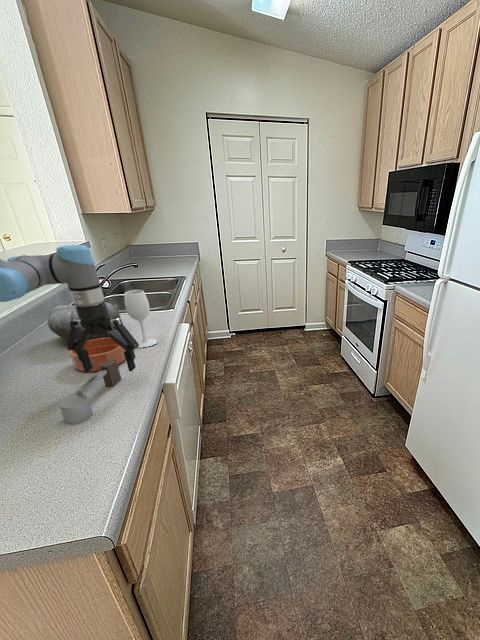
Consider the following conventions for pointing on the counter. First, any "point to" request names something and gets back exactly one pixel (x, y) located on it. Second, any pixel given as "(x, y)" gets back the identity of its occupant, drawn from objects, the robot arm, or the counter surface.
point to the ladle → (78, 405)
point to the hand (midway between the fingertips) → (110, 369)
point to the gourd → (67, 313)
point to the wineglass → (138, 312)
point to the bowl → (100, 353)
